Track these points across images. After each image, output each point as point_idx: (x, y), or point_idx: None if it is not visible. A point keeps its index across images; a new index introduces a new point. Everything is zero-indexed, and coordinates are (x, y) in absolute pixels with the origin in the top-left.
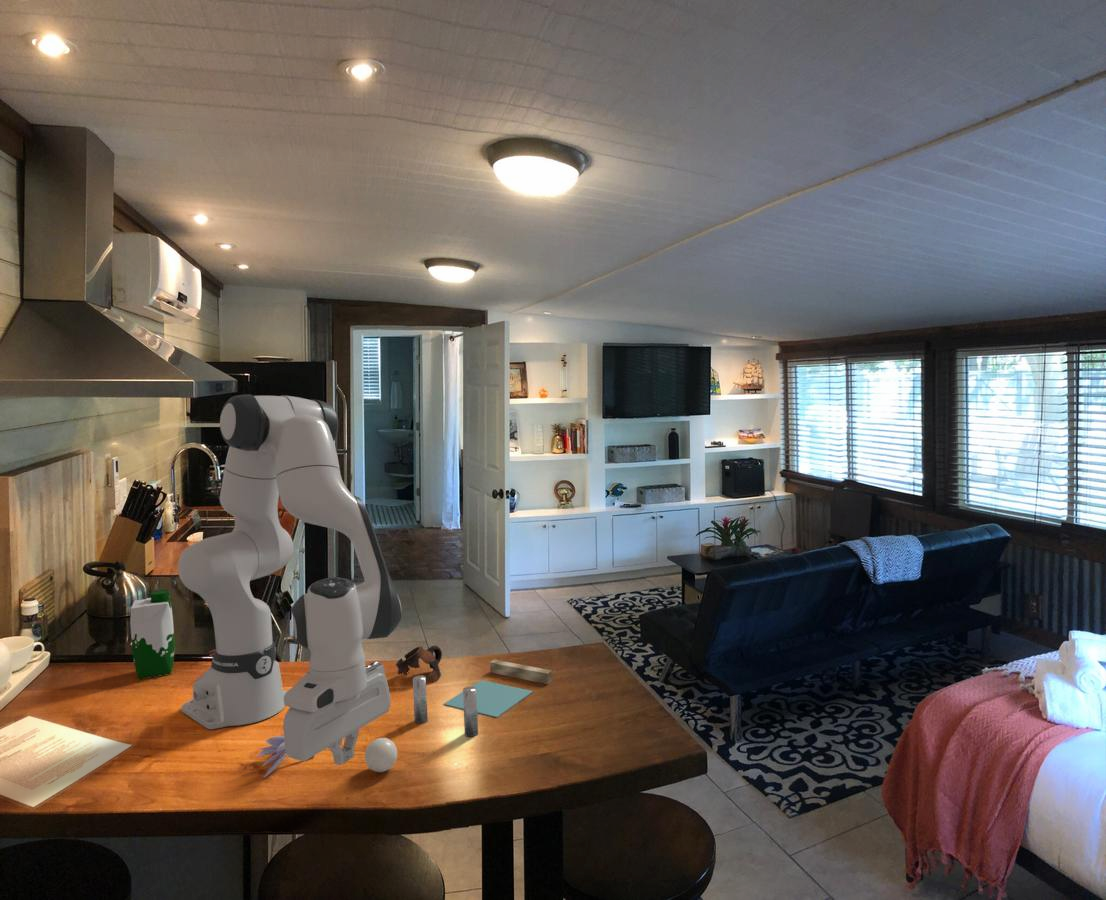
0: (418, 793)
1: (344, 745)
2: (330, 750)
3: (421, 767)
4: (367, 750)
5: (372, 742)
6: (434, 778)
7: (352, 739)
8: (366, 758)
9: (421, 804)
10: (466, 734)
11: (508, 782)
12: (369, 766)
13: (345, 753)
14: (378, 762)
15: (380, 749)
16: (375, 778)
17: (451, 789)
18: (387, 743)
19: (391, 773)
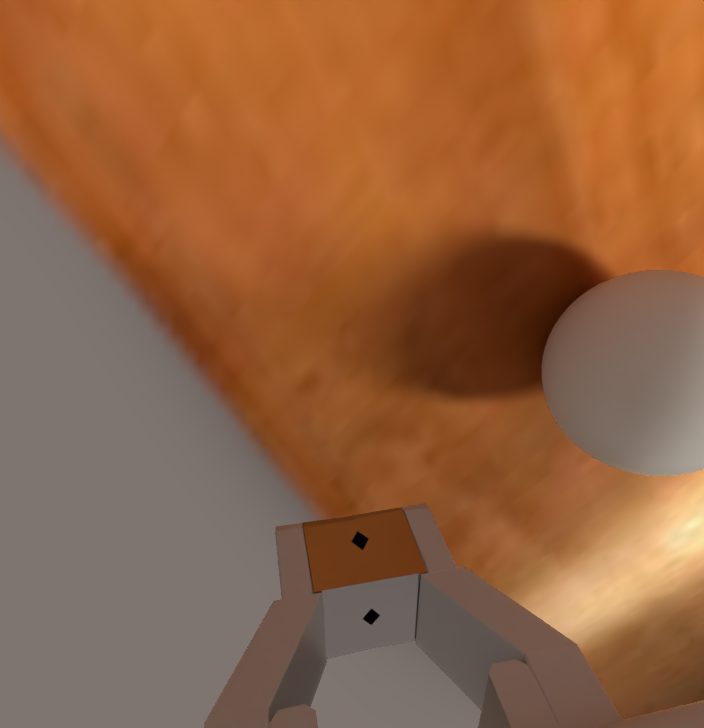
0: (470, 566)
1: (430, 591)
2: (248, 650)
3: None
4: (629, 367)
5: (702, 387)
6: (580, 539)
7: (482, 694)
8: (579, 355)
9: None
10: None
11: (609, 679)
12: (546, 355)
13: (342, 649)
14: (563, 428)
15: (636, 462)
16: (511, 359)
17: None
18: (701, 468)
19: None
